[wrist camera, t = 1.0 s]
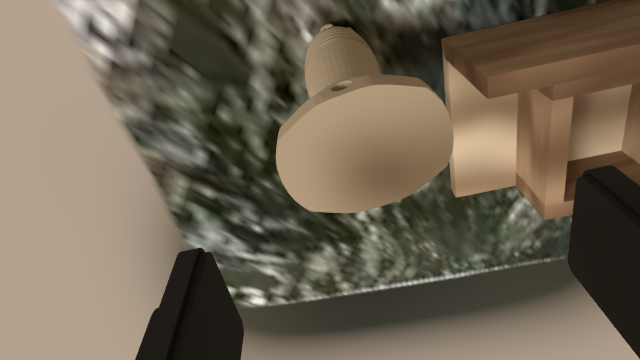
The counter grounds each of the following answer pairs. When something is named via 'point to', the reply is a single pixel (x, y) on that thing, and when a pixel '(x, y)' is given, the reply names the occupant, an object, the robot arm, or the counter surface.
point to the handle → (360, 130)
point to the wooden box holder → (545, 102)
